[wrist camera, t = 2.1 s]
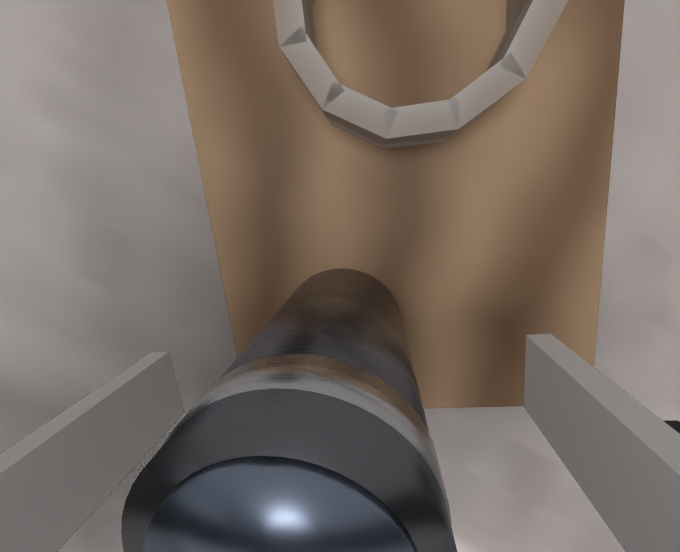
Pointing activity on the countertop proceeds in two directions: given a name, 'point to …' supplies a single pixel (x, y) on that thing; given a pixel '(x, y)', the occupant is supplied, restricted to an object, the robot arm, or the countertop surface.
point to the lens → (303, 441)
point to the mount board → (412, 167)
